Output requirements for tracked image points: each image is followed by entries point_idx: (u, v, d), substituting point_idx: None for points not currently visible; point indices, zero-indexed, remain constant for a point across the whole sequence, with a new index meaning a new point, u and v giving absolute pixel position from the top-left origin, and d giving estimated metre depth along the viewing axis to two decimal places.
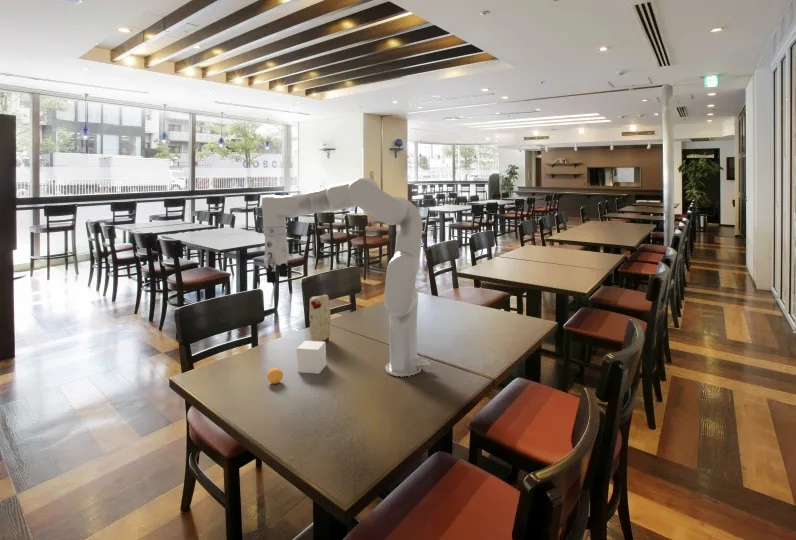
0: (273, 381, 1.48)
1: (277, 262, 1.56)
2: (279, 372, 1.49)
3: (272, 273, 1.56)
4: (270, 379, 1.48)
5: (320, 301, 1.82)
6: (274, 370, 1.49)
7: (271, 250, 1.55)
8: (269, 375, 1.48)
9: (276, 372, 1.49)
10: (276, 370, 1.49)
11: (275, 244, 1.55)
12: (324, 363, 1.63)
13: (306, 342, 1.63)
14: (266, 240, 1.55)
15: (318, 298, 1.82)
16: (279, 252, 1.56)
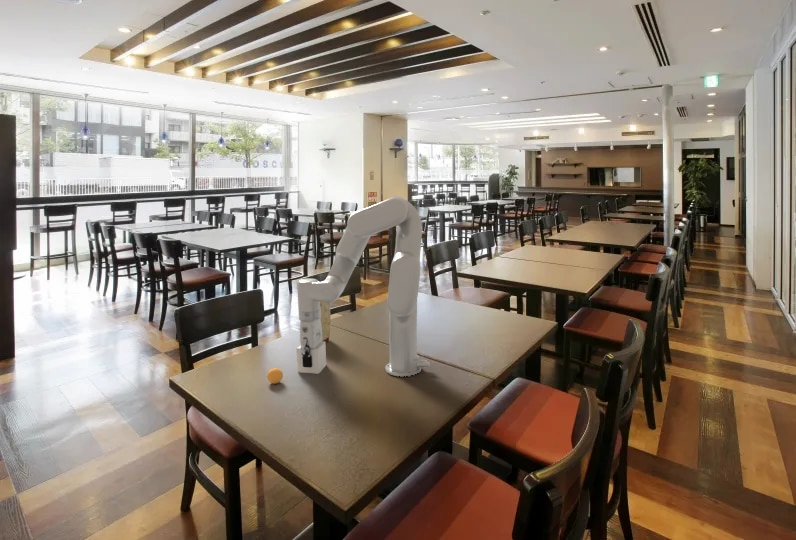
0: (273, 381, 1.48)
1: (312, 347, 1.55)
2: (279, 372, 1.49)
3: (308, 358, 1.56)
4: (270, 379, 1.48)
5: None
6: (274, 370, 1.49)
7: (307, 335, 1.54)
8: (269, 375, 1.48)
9: (276, 372, 1.49)
10: (276, 370, 1.49)
11: (311, 329, 1.54)
12: (324, 363, 1.63)
13: None
14: (302, 325, 1.55)
15: None
16: (314, 336, 1.56)
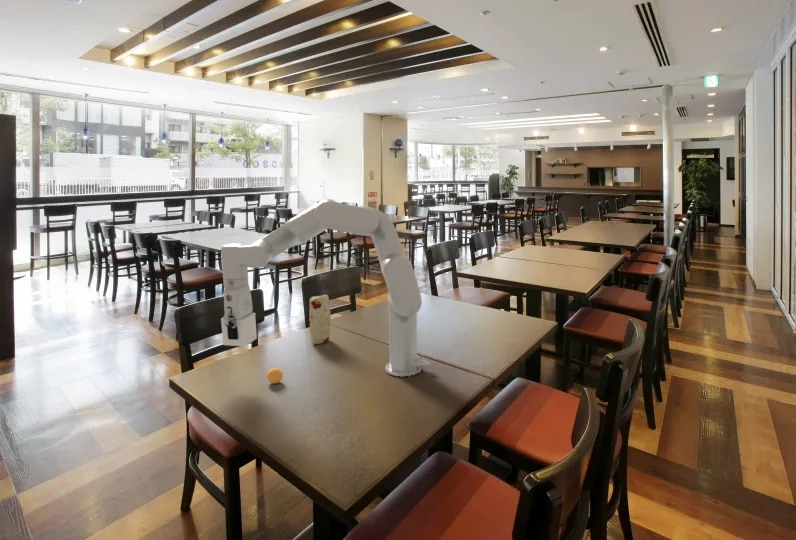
0: (273, 381, 1.48)
1: (237, 317, 1.43)
2: (279, 372, 1.49)
3: (233, 329, 1.44)
4: (270, 379, 1.48)
5: (320, 301, 1.82)
6: (274, 370, 1.49)
7: (231, 304, 1.43)
8: (269, 375, 1.48)
9: (276, 372, 1.49)
10: (276, 370, 1.49)
11: (235, 298, 1.42)
12: (253, 336, 1.51)
13: None
14: (225, 293, 1.43)
15: (318, 298, 1.82)
16: (239, 306, 1.44)
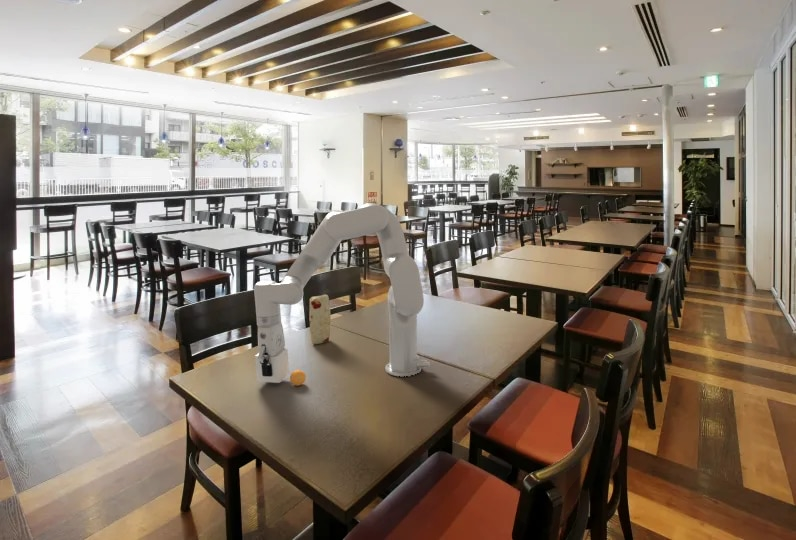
0: (293, 377, 1.47)
1: (272, 354, 1.44)
2: None
3: (268, 367, 1.45)
4: (296, 380, 1.46)
5: (320, 301, 1.82)
6: (296, 385, 1.49)
7: (265, 342, 1.43)
8: (297, 383, 1.47)
9: None
10: None
11: (269, 335, 1.43)
12: (286, 371, 1.52)
13: None
14: (259, 331, 1.43)
15: (318, 298, 1.82)
16: (273, 343, 1.44)
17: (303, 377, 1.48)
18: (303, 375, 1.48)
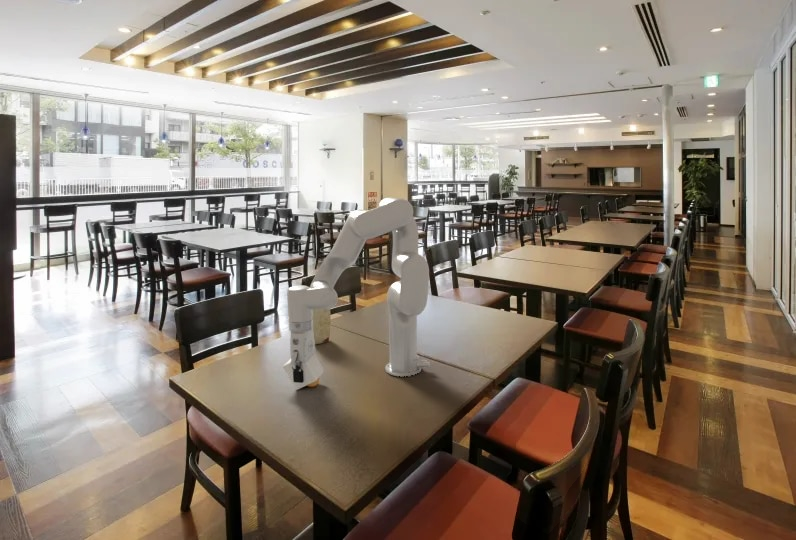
0: None
1: (304, 360, 1.42)
2: None
3: (299, 373, 1.43)
4: None
5: None
6: None
7: (297, 348, 1.41)
8: None
9: None
10: None
11: (302, 341, 1.41)
12: (320, 369, 1.49)
13: None
14: (292, 337, 1.42)
15: None
16: (306, 349, 1.43)
17: (310, 386, 1.48)
18: None
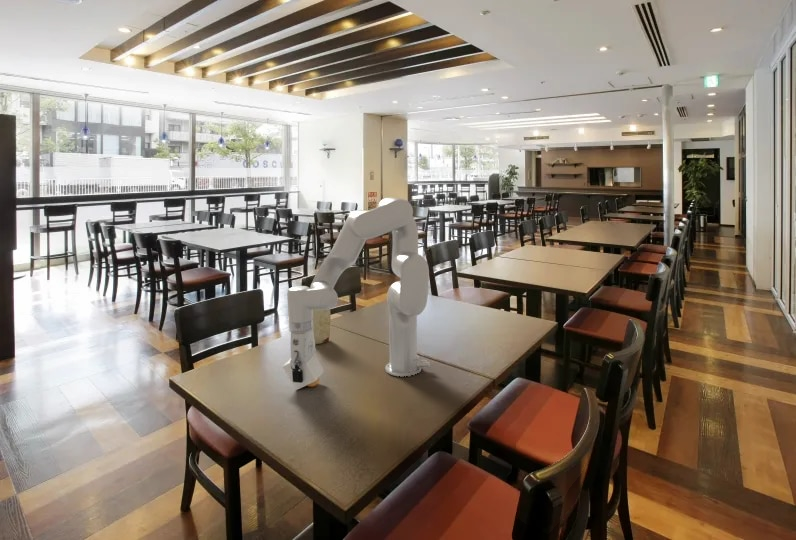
0: None
1: (304, 361, 1.42)
2: None
3: (299, 373, 1.42)
4: None
5: None
6: None
7: (298, 348, 1.41)
8: None
9: None
10: None
11: (302, 342, 1.41)
12: (319, 369, 1.49)
13: None
14: (292, 337, 1.42)
15: None
16: (306, 349, 1.43)
17: (310, 386, 1.48)
18: None
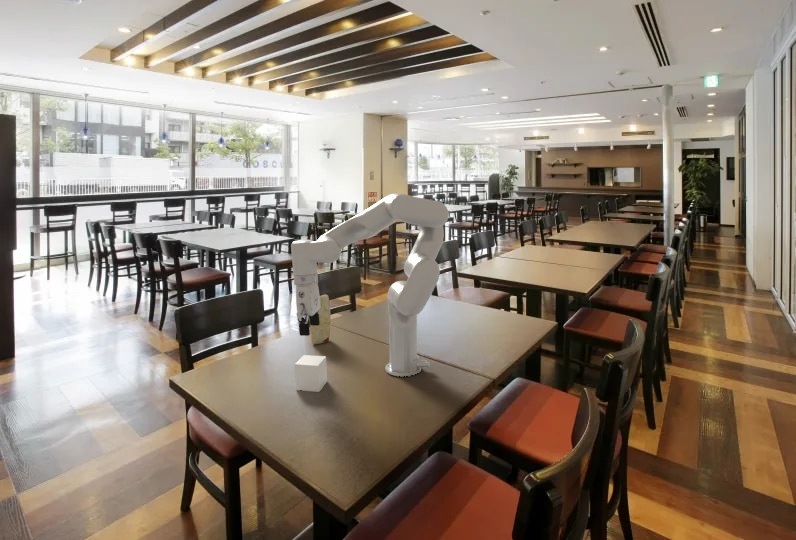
0: None
1: (310, 313, 1.42)
2: None
3: (305, 325, 1.43)
4: None
5: (320, 301, 1.82)
6: None
7: (303, 301, 1.42)
8: None
9: None
10: None
11: (308, 294, 1.41)
12: (325, 380, 1.50)
13: (305, 356, 1.50)
14: (297, 290, 1.42)
15: None
16: (312, 302, 1.43)
17: None
18: None
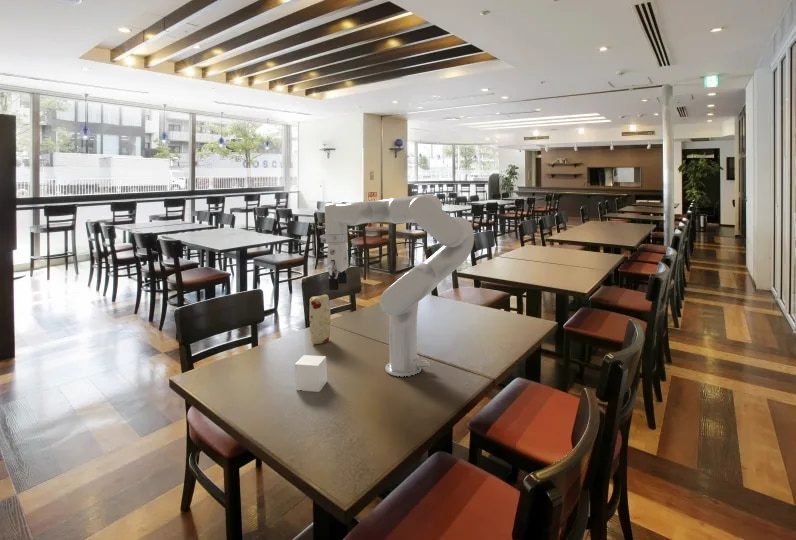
0: None
1: (340, 269, 1.57)
2: None
3: (335, 280, 1.57)
4: None
5: (320, 301, 1.82)
6: None
7: (334, 257, 1.56)
8: None
9: None
10: None
11: (338, 251, 1.55)
12: (325, 380, 1.50)
13: (305, 356, 1.50)
14: (329, 247, 1.56)
15: (318, 298, 1.82)
16: (341, 259, 1.57)
17: None
18: None
